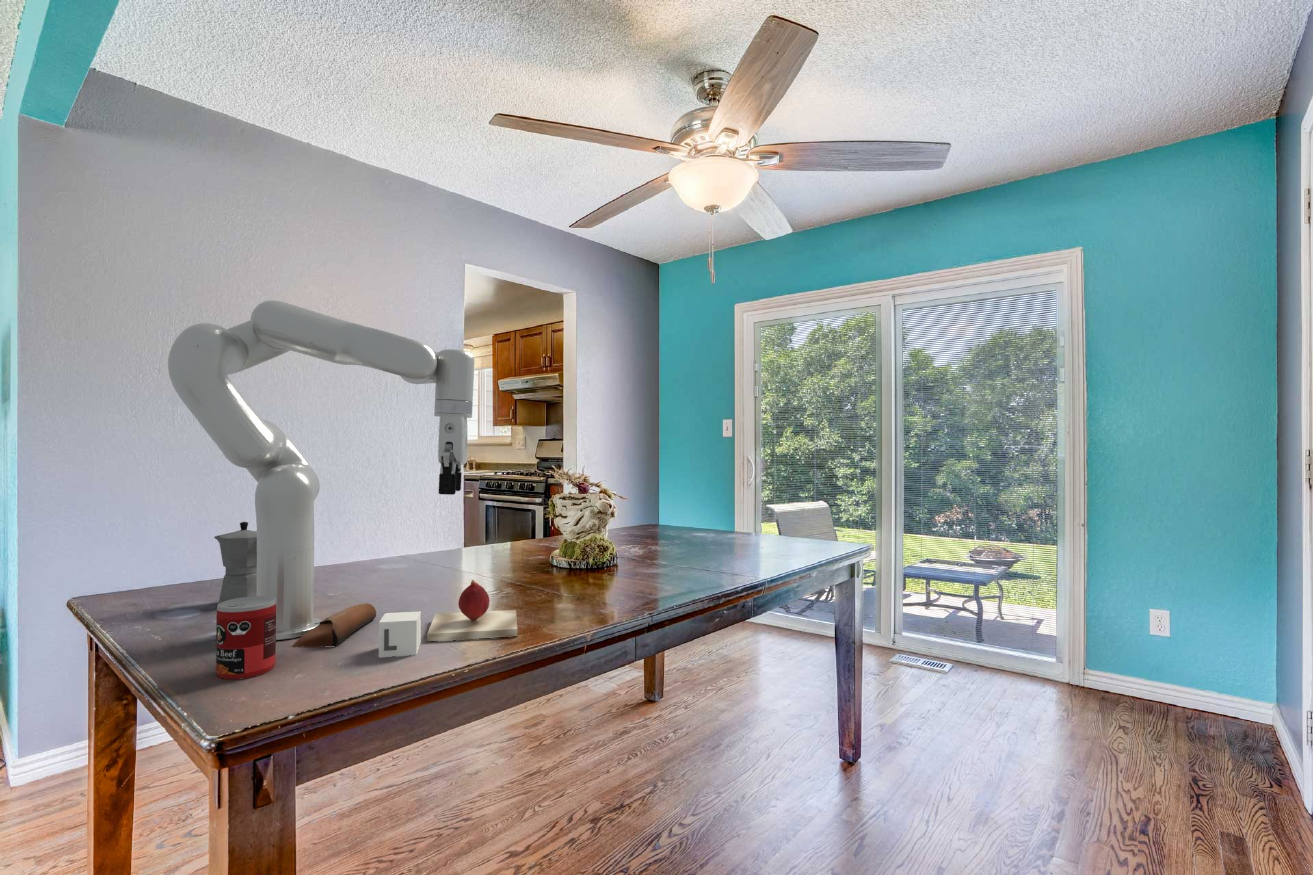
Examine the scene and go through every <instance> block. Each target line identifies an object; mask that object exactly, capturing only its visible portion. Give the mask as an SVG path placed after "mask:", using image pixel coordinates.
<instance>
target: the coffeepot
mask: <svg viewBox="0 0 1313 875" xmlns="http://www.w3.org/2000/svg"><path fill="white" fill-rule="evenodd" d="M248 525H249V522H248V521H242V522H239V526H240V530H236V531H233V532H227V533H223V534H219V535H215V536H214V537H213V538H214V539H215V540H216V541H217V542H218V544H219V548H220V549H219V550H220V555H221V560H222V567H224V568H225V574H224V576H223V579H222V585H221V589H220V594H219V598H218V604H219V603H221V602H224V601H227V600H231V599H236V598H242V597H252V596H256V592H257V530H250V529H248ZM218 604H217V605H218Z"/></svg>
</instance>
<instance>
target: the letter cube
mask: <svg viewBox="0 0 1313 875" xmlns="http://www.w3.org/2000/svg"><path fill="white" fill-rule="evenodd" d="M421 620H422V611H402V612H385V613H384V615H383V616H382V617H381V619H380V621H379V622H378V658H393V657H392V656H395V657H407V656H408V657H409V655H411V656H417V655H418V652H419V650H418V649H420V647H419V646H421V643H422V642H421V637H422V636H421V634H422V633H421V629H422V628H421V627H422V626H421V625H422V622H421ZM416 654H417V655H416Z"/></svg>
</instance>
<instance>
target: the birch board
mask: <svg viewBox="0 0 1313 875" xmlns="http://www.w3.org/2000/svg"><path fill="white" fill-rule="evenodd" d="M498 636H517V637H518V618H517V609H508V610H507V609H506V610H487V611H486V612H485V614H484V615H482V616H481V617H480V618H478V619H477V620H476V621H471V620H470V619H469V618H467V617H466V616H465V615H464V614H463V613H462V612H461V611H460V612H443V613H434V617H433V619H432V621H431V623H430V626H429V628H428V631H427V633H426V642H427V641H438V642H451V641H452V642H453V640H456V641H464V640H463V639H473V640H480V639H479V638H489V637H498Z"/></svg>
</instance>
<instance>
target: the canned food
mask: <svg viewBox="0 0 1313 875" xmlns="http://www.w3.org/2000/svg"><path fill="white" fill-rule="evenodd" d="M218 603H219V602H218ZM216 606H217V607H216V618H215V619H216V625H215V626H216V629H215V630H216V631H215V632H216V633H215V638H216V640H215V641H216V644H215V672H216V675H217V677H218V676H219V677H218V678H219V679H222V678H226V679H225V680H229V679H234V680H241V679H240V678H245V679H248V677H251V678H253V677H252V676H255V677H257V676H256V675H259V676H261V674H262V675H265V674H266V672H267V673H269V672H271V671H272V670H273V669H274V668H275V664H276V660H277V659H276V656H277V655H276V652H277V650H276V648H277V647H276V646H277V642H276V641H277V640H276V599H275V598H273V597H268V596H252V597H242V598H236V599H231V600H227V601H224V602H221V603H219V604H217V605H216ZM268 671H269V672H268ZM264 673H265V674H264Z"/></svg>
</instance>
